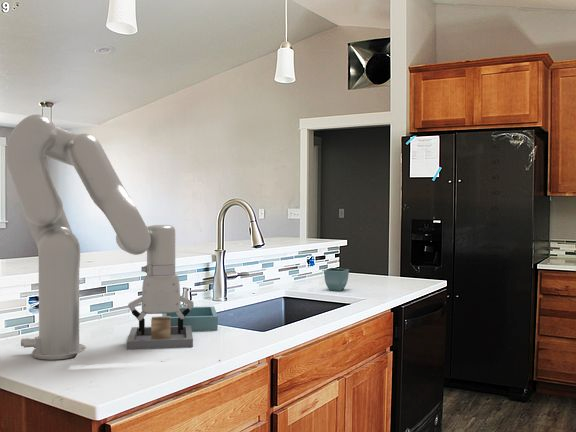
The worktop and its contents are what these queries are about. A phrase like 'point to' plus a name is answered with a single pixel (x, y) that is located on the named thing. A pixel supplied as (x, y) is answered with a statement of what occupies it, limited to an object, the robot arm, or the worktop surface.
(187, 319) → the tray
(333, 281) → the flower pot
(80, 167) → the robot arm
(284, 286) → the worktop surface
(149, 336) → the bin
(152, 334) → the oak block
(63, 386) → the worktop surface
